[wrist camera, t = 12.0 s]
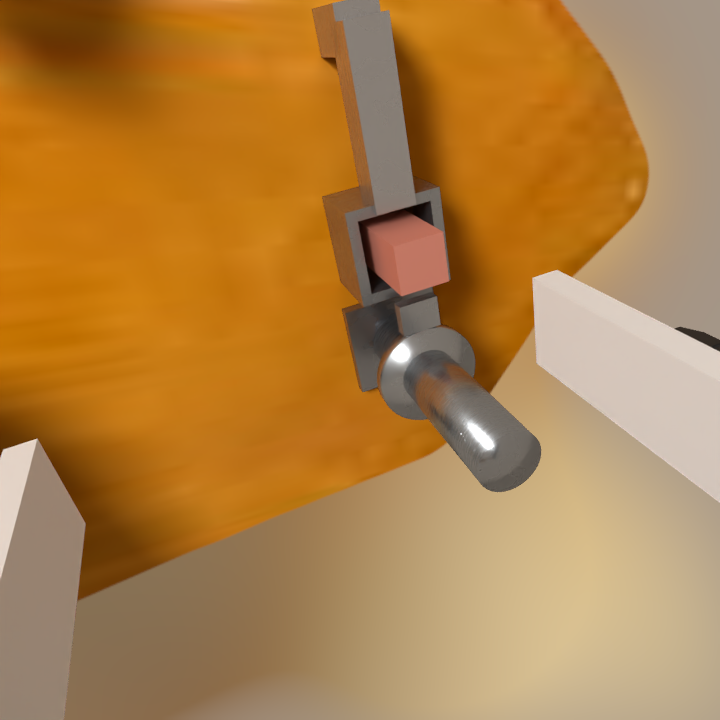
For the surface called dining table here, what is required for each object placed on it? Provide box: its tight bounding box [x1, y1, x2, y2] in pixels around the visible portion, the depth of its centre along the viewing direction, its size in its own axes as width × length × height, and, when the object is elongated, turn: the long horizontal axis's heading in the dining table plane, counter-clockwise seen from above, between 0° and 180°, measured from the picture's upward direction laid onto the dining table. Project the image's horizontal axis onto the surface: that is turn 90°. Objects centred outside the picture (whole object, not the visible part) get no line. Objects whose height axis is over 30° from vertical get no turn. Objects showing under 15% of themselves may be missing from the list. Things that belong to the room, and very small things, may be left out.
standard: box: [342, 287, 541, 492], centre depth 45 cm, size 8×10×20 cm
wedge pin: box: [358, 209, 449, 296], centre depth 45 cm, size 4×4×10 cm
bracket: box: [312, 0, 451, 307], centre depth 43 cm, size 7×20×6 cm, turn 11°
